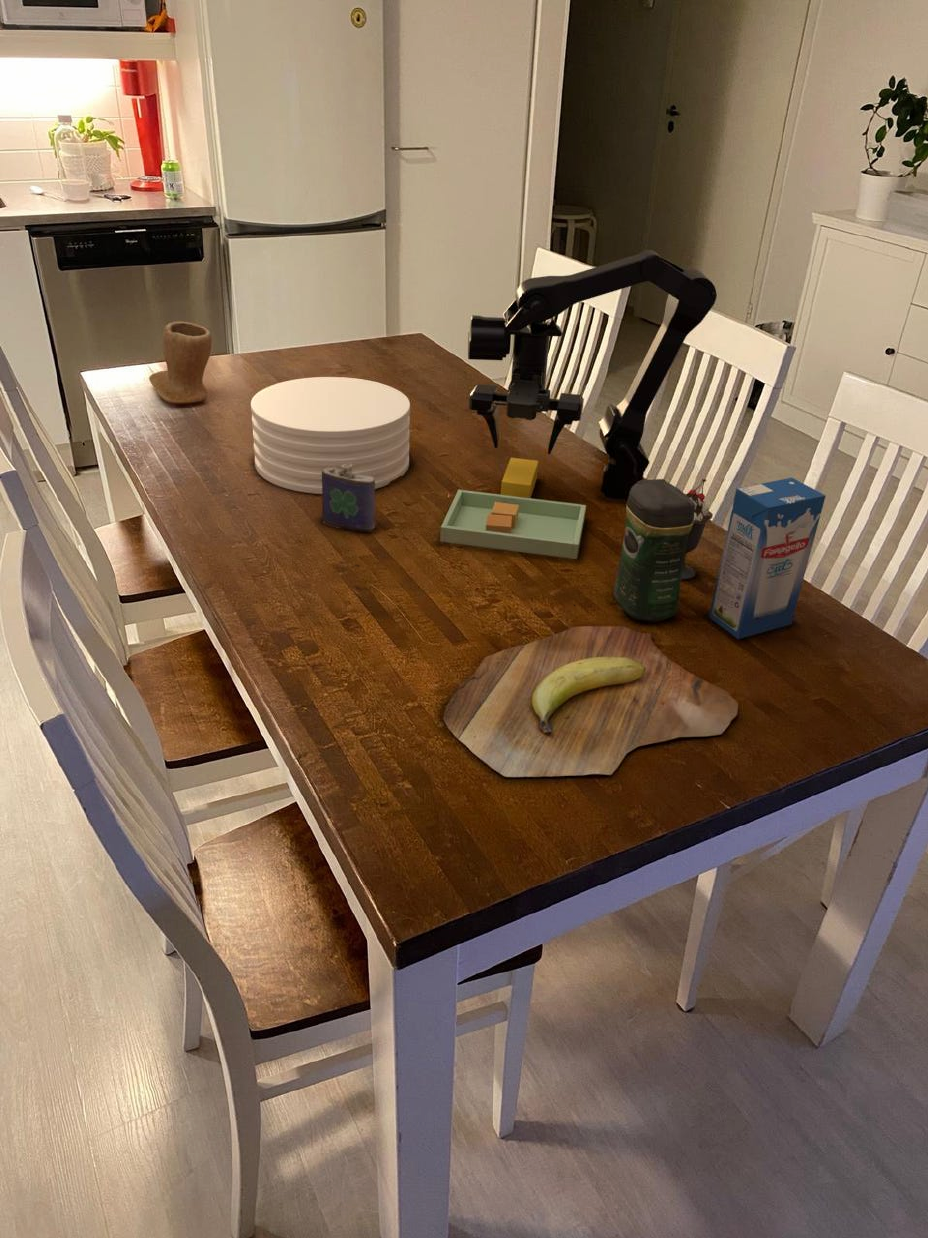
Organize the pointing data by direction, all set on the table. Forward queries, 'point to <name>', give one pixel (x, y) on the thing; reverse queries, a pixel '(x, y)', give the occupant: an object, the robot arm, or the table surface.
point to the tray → (535, 530)
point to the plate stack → (329, 431)
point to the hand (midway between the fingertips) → (522, 450)
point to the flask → (348, 499)
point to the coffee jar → (653, 550)
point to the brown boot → (183, 363)
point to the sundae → (696, 527)
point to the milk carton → (765, 556)
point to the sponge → (519, 478)
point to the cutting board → (581, 703)
